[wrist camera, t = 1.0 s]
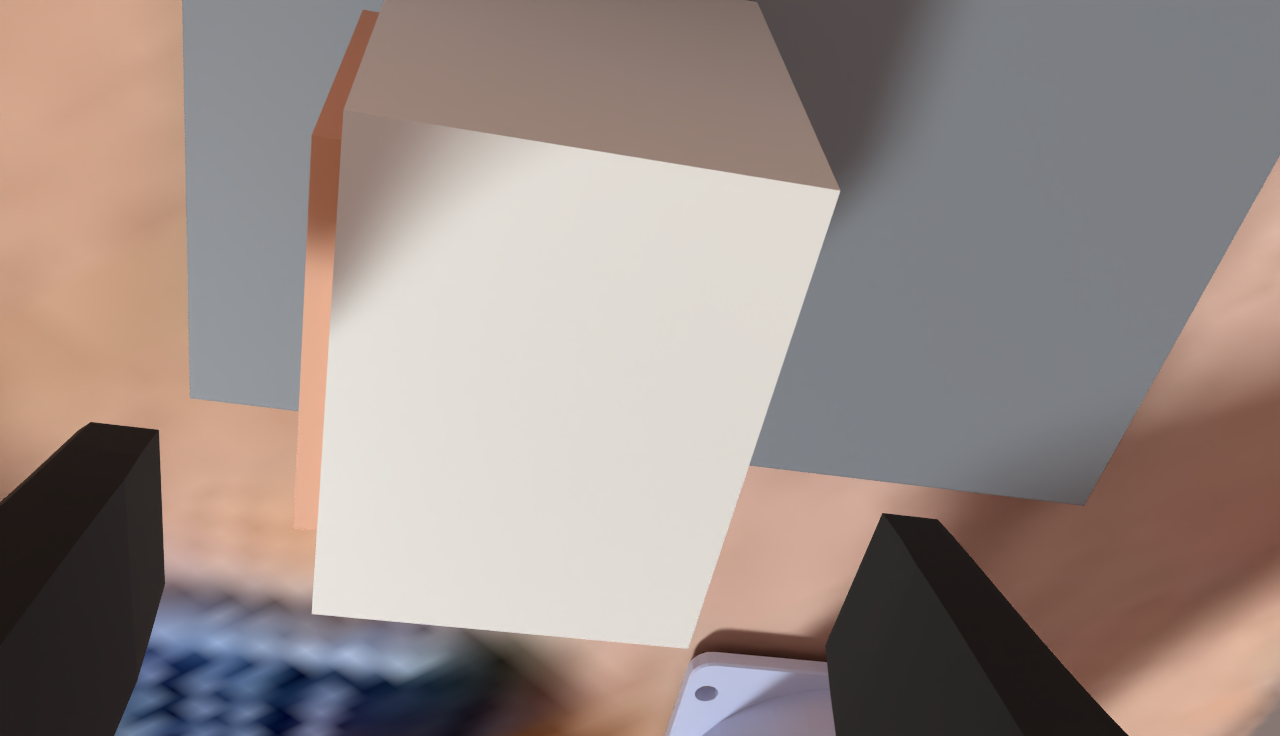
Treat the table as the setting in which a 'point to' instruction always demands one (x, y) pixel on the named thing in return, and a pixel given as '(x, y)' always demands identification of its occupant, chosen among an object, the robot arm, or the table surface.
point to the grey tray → (855, 217)
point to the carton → (547, 308)
